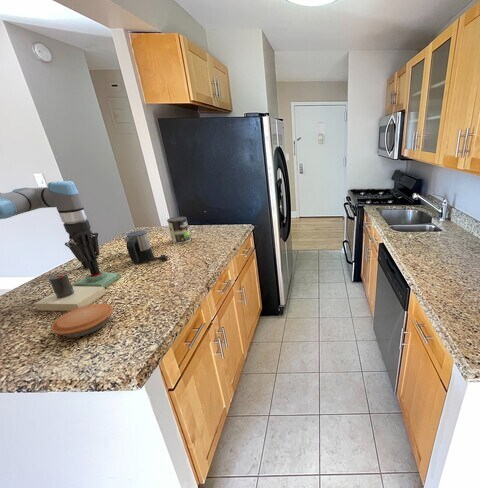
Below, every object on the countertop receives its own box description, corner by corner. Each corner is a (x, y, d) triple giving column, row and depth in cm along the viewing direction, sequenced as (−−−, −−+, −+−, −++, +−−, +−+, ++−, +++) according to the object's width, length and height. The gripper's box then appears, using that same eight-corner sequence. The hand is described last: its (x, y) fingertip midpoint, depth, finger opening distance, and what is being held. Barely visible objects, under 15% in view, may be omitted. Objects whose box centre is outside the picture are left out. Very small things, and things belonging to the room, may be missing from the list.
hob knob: (52, 298, 97) (43, 278, 94) (65, 290, 102) (57, 272, 99) (65, 298, 97) (57, 278, 94) (78, 291, 101) (70, 272, 98)
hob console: (37, 310, 95) (33, 303, 94) (68, 292, 106) (65, 285, 105) (79, 311, 95) (76, 303, 93) (106, 293, 106) (103, 286, 105)
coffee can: (194, 238, 164) (190, 216, 159) (183, 244, 155) (178, 221, 150) (179, 237, 166) (175, 216, 161) (168, 243, 156) (162, 220, 151)
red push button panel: (74, 288, 109) (71, 280, 107) (95, 276, 118) (92, 269, 117) (102, 288, 109) (99, 280, 107) (120, 277, 118) (118, 269, 116)
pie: (49, 330, 85) (42, 318, 83) (106, 306, 97) (101, 295, 95) (63, 350, 77) (57, 336, 75) (123, 321, 89) (119, 309, 87)
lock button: (89, 279, 111) (87, 276, 110) (96, 275, 114) (95, 272, 113) (97, 279, 111) (96, 276, 110) (104, 275, 114) (103, 272, 113)
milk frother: (135, 257, 137) (127, 231, 131) (169, 252, 144) (162, 226, 138) (130, 269, 125) (121, 240, 120) (168, 262, 132) (161, 235, 126)
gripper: (81, 216, 109) (99, 266, 118) (49, 226, 97) (73, 281, 106) (98, 216, 109) (115, 266, 118) (69, 226, 97) (91, 281, 106)
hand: (95, 273), depth 112 cm, fingers closed
